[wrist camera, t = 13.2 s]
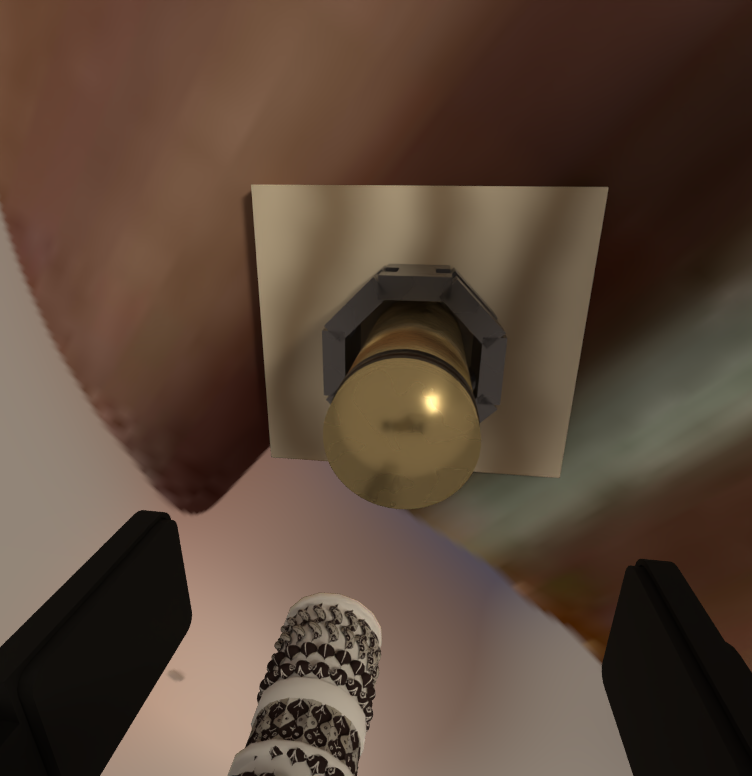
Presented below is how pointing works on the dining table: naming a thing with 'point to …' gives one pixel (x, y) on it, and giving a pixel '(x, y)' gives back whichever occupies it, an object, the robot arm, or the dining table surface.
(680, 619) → the robot arm
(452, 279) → the ring
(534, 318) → the board
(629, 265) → the dining table surface
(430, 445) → the gold cylinder
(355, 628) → the decorative candle
